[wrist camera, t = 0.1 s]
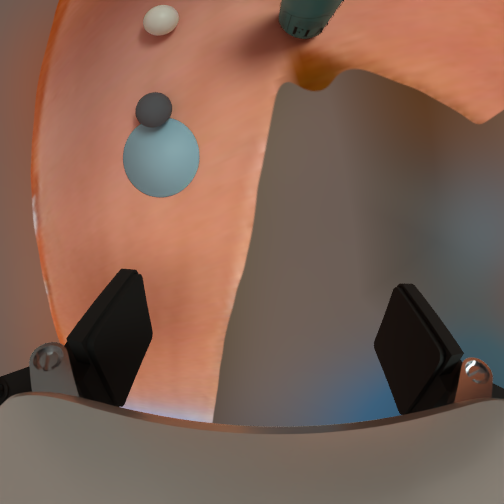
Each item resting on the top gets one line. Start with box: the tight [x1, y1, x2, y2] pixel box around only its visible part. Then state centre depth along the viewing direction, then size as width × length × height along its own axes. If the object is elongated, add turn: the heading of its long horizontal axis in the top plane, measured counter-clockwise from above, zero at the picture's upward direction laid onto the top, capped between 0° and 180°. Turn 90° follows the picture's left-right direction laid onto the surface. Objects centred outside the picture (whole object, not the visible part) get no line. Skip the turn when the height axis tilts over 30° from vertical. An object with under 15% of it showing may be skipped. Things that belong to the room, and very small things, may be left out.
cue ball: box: [143, 5, 179, 36], centre depth 26 cm, size 5×5×5 cm
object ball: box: [136, 92, 172, 128], centre depth 32 cm, size 5×5×5 cm
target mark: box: [123, 118, 199, 197], centre depth 37 cm, size 12×12×1 cm
